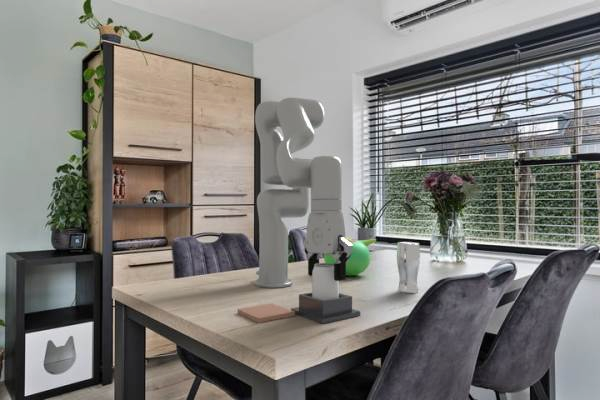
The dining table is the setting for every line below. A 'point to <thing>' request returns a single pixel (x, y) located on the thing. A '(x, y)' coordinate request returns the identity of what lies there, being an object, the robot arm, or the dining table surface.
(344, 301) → the sleeve
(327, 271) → the can
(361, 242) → the green round teapot
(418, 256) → the beer glass
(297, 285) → the dining table surface
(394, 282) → the dining table surface
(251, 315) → the mat
